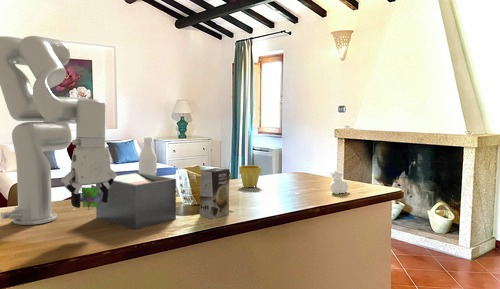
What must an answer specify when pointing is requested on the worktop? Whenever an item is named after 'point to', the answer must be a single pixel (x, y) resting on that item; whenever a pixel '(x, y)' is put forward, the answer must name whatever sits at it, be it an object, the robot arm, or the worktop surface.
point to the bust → (338, 183)
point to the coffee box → (214, 193)
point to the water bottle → (148, 158)
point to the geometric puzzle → (91, 196)
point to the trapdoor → (132, 179)
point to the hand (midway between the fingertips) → (90, 203)
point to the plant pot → (249, 175)
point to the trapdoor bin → (139, 202)
